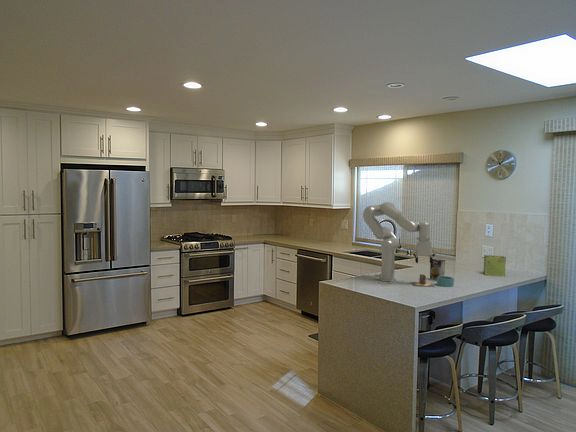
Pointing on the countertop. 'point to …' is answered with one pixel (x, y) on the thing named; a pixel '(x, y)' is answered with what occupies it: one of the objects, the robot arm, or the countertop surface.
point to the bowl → (445, 281)
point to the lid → (422, 281)
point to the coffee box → (437, 269)
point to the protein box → (494, 265)
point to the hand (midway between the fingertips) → (423, 263)
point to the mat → (422, 286)
